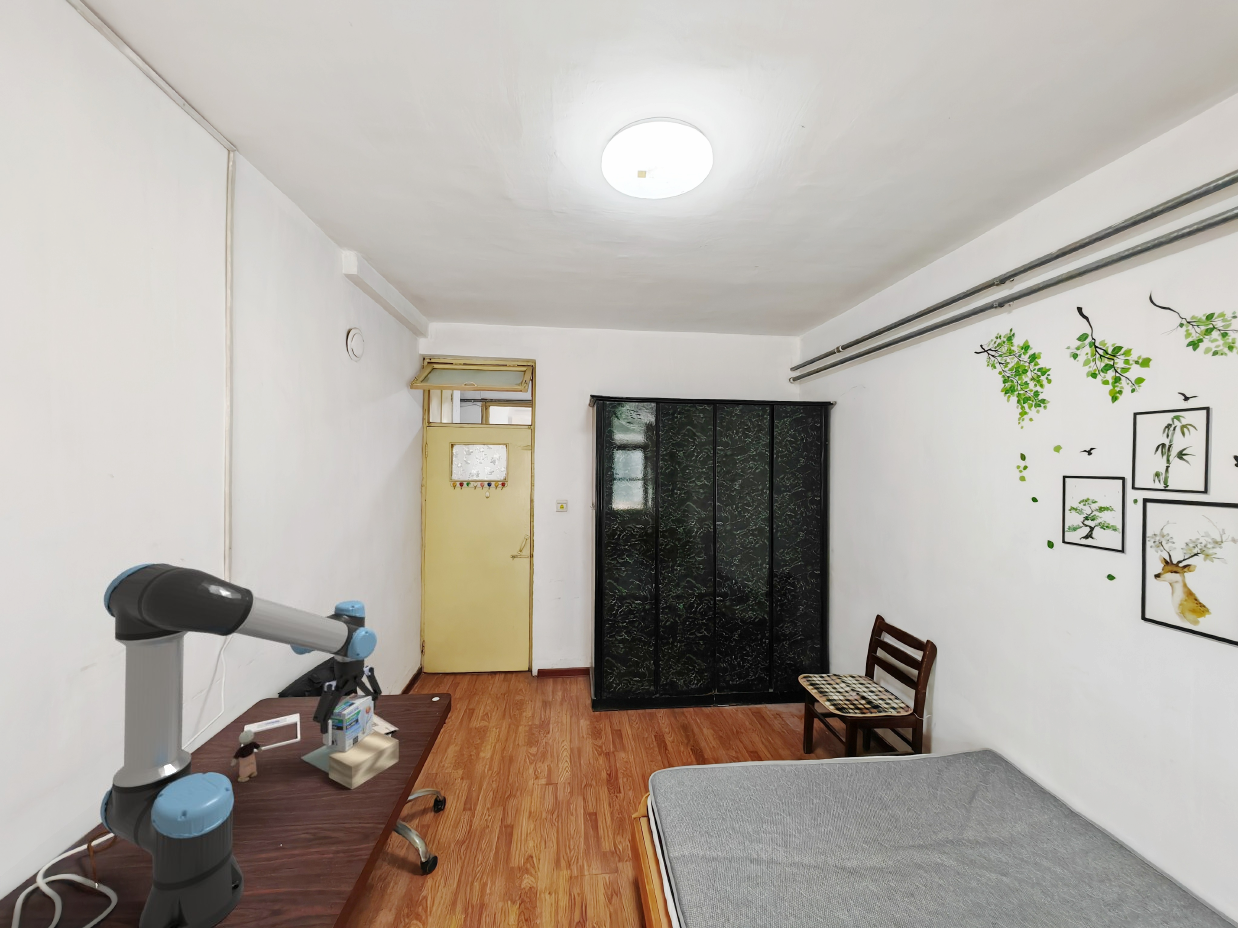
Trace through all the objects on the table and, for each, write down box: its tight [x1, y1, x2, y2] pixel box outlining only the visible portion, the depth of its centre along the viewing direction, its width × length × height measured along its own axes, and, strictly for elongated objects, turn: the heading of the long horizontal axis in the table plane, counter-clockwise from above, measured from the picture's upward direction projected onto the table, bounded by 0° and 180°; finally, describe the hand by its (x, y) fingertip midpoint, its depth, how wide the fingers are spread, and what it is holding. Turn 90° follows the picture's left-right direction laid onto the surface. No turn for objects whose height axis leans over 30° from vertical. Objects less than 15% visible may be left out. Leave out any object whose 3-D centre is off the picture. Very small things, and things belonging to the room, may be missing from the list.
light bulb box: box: [325, 693, 372, 752], centre depth 142 cm, size 11×7×11 cm, turn 168°
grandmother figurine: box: [230, 730, 264, 783], centre depth 134 cm, size 8×4×13 cm, turn 168°
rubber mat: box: [300, 744, 337, 774], centre depth 145 cm, size 12×14×1 cm
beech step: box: [328, 731, 400, 790], centre depth 139 cm, size 14×10×6 cm
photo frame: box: [240, 713, 301, 753], centre depth 155 cm, size 15×1×18 cm
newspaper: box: [370, 713, 400, 734], centre depth 159 cm, size 23×12×2 cm, turn 53°
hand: (349, 732), depth 142 cm, fingers open, 12 cm apart
